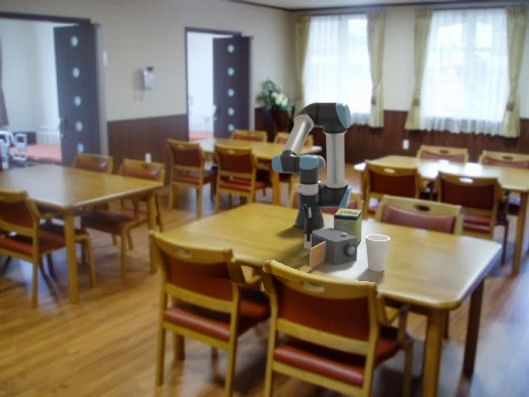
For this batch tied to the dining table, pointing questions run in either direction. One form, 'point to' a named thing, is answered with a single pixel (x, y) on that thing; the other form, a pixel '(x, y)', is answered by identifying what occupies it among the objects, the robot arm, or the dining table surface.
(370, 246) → the foam cup
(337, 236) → the camera body
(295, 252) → the dining table surface
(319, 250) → the side door
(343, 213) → the protein box
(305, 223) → the robot arm
